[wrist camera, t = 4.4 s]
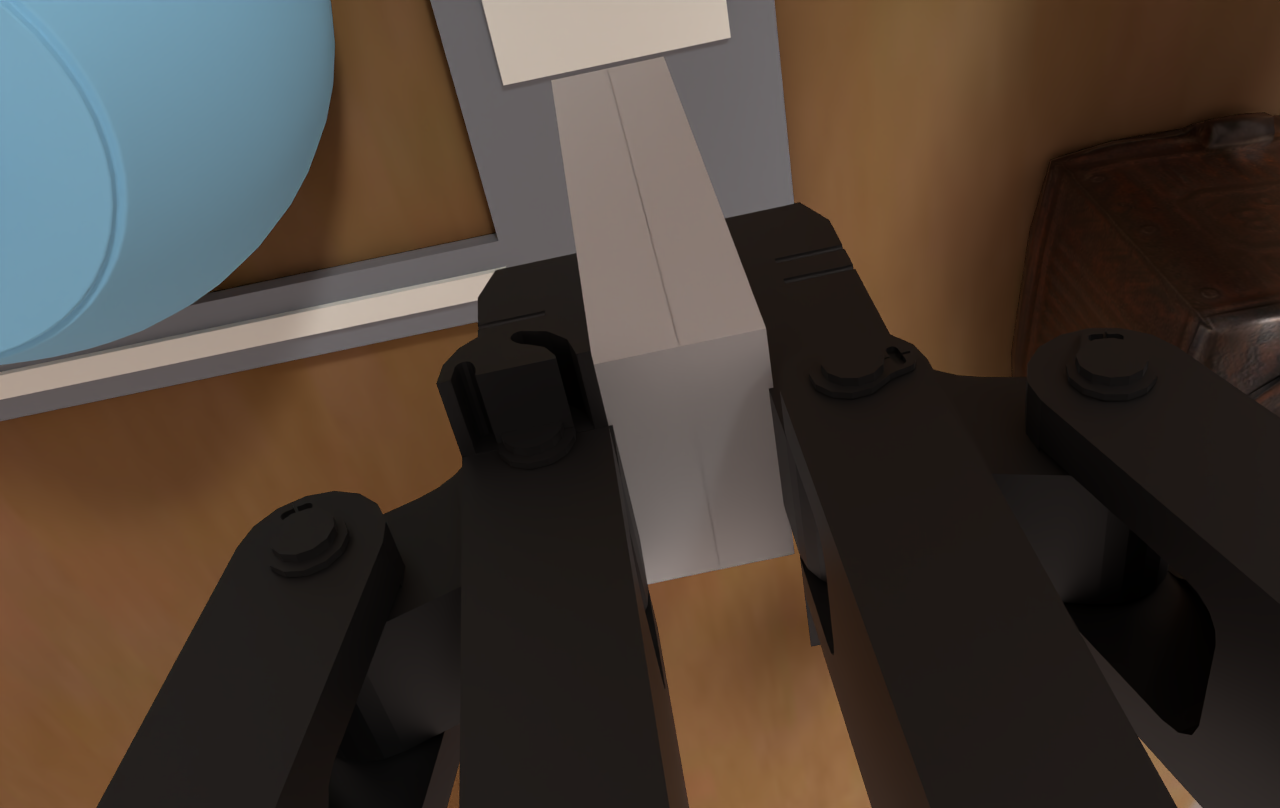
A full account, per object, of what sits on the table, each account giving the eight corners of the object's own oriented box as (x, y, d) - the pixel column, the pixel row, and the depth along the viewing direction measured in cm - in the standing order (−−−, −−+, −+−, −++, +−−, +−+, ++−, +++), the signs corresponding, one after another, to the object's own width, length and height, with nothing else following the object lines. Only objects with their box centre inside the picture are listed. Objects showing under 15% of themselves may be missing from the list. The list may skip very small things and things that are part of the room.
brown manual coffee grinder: (1395, 82, 33) (2078, 490, 19) (1294, 384, 40) (1743, 852, 26) (872, 149, 33) (1177, 623, 19) (859, 445, 40) (1075, 958, 25)
